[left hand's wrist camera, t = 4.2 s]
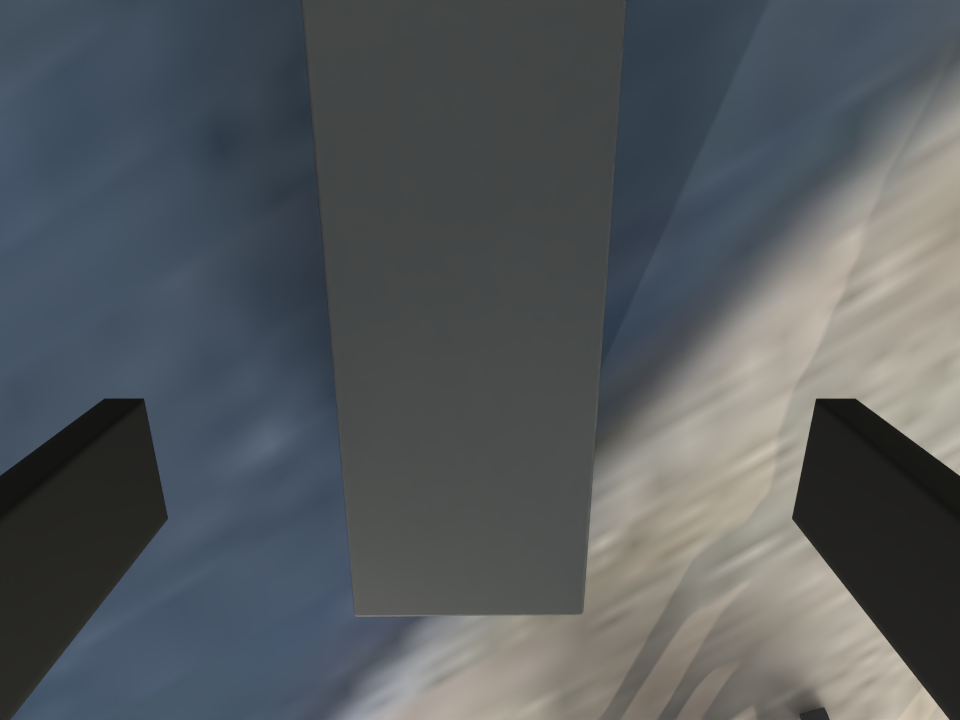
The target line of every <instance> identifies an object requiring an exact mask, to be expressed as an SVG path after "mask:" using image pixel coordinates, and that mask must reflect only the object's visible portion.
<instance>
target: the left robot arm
mask: <svg viewBox="0 0 960 720" xmlns="http://www.w3.org/2000/svg"><path fill="white" fill-rule="evenodd" d="M167 519H168V516H167V512H166V507H165V502H164V497H163V492H162V487H161V482H160V477H159V472H158V467H157V462H156V457H155V452H154V447H153V442H152V437H151V432H150V427H149V422H148V417H147V412H146V407H145V402H144V399H103V400H102V401H101V402H99V403H98V404H97V405H95V406H94V407H93V408H91V409H90V410H89V411H87V412H86V413H85V414H83V415H82V416H81V417H79V418H78V419H76V420H75V421H74V422H72V423H71V424H70V425H68V426H67V427H66V428H64V429H63V430H62V431H60V432H59V433H58V434H56V435H55V436H54V437H52V438H51V439H49V440H48V441H47V442H45V443H44V444H43V445H41V446H40V447H39V448H37V449H36V450H35V451H33V452H32V453H31V454H29V455H28V456H27V457H25V458H24V459H22V460H21V461H20V462H18V463H17V464H16V465H14V466H13V467H12V468H10V469H9V470H8V471H6V472H5V473H4V474H2V475H1V476H0V720H11V718H12V717H13V716H14V714H15V713H16V712H17V711H18V709H19V708H20V707H21V705H22V704H23V703H24V702H25V700H26V699H27V698H28V697H29V695H30V694H31V693H32V691H33V690H34V689H35V688H36V686H37V685H38V684H39V683H40V681H41V680H42V679H43V677H44V676H45V675H46V674H47V672H48V671H49V670H50V669H51V667H52V666H53V665H54V663H55V662H56V661H57V660H58V658H59V657H60V656H61V654H62V653H63V652H64V651H65V649H66V648H67V647H68V646H69V644H70V643H71V642H72V640H73V639H74V638H75V637H76V635H77V634H78V633H79V632H80V630H81V629H82V628H83V626H84V625H85V624H86V623H87V621H88V620H89V619H90V617H91V616H92V615H93V614H94V612H95V611H96V610H97V609H98V607H99V606H100V605H101V603H102V602H103V601H104V600H105V598H106V597H107V596H108V595H109V593H110V592H111V591H112V589H113V588H114V587H115V586H116V584H117V583H118V582H119V580H120V579H121V578H122V577H123V575H124V574H125V573H126V572H127V570H128V569H129V568H130V566H131V565H132V564H133V563H134V561H135V560H136V559H137V558H138V556H139V555H140V554H141V552H142V551H143V550H144V549H145V547H146V546H147V545H148V543H149V542H150V541H151V540H152V538H153V537H154V536H155V535H156V533H157V532H158V531H159V529H160V528H161V527H162V526H163V524H164V523H165V522H166V521H167ZM792 519H793V521H794V522H795V523H796V524H797V526H798V527H799V528H800V529H801V531H802V532H803V533H804V535H805V536H806V537H807V538H808V540H809V541H810V542H811V543H812V545H813V546H814V547H815V549H816V550H817V551H818V552H819V554H820V555H821V556H822V558H823V559H824V560H825V561H826V563H827V564H828V565H829V566H830V568H831V569H832V570H833V572H834V573H835V574H836V575H837V577H838V578H839V579H840V580H841V582H842V583H843V584H844V586H845V587H846V588H847V589H848V591H849V592H850V593H851V595H852V596H853V597H854V598H855V600H856V601H857V602H858V603H859V605H860V606H861V607H862V609H863V610H864V611H865V612H866V614H867V615H868V616H869V617H870V619H871V620H872V621H873V623H874V624H875V625H876V626H877V628H878V629H879V630H880V632H881V633H882V634H883V635H884V637H885V638H886V639H887V640H888V642H889V643H890V644H891V646H892V647H893V648H894V649H895V651H896V652H897V653H898V654H899V656H900V657H901V658H902V660H903V661H904V662H905V663H906V665H907V666H908V667H909V669H910V670H911V671H912V672H913V674H914V675H915V676H916V677H917V679H918V680H919V681H920V683H921V684H922V685H923V686H924V688H925V689H926V690H927V691H928V693H929V694H930V695H931V697H932V698H933V699H934V700H935V702H936V703H937V704H938V705H939V707H940V708H941V709H942V711H943V712H944V713H945V714H946V716H947V717H948V718H949V720H960V476H959V475H958V474H956V473H955V472H954V471H952V470H951V469H950V468H948V467H947V466H946V465H944V464H943V463H942V462H940V461H939V460H938V459H936V458H935V457H933V456H932V455H931V454H929V453H928V452H927V451H925V450H924V449H923V448H921V447H920V446H919V445H917V444H916V443H915V442H913V441H912V440H911V439H909V438H908V437H906V436H905V435H904V434H902V433H901V432H900V431H898V430H897V429H896V428H894V427H893V426H892V425H890V424H889V423H888V422H886V421H885V420H884V419H882V418H881V417H879V416H878V415H877V414H875V413H874V412H873V411H871V410H870V409H869V408H867V407H866V406H865V405H863V404H862V403H861V402H859V401H858V400H857V399H816V402H815V407H814V412H813V417H812V422H811V427H810V432H809V437H808V442H807V447H806V452H805V457H804V462H803V467H802V472H801V477H800V482H799V487H798V492H797V497H796V502H795V507H794V512H793V516H792Z"/></svg>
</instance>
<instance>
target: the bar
mask: <svg viewBox="0 0 960 720" xmlns="http://www.w3.org/2000/svg"><path fill="white" fill-rule="evenodd" d="M301 2H302V14H303V25H304V37H305V48H306V60H307V72H308V83H309V95H310V106H311V118H312V130H313V141H314V153H315V164H316V176H317V188H318V199H319V211H320V222H321V234H322V245H323V257H324V269H325V280H326V292H327V303H328V315H329V327H330V338H331V350H332V361H333V373H334V385H335V396H336V408H337V419H338V431H339V443H340V454H341V466H342V477H343V489H344V501H345V512H346V524H347V535H348V547H349V558H350V570H351V582H352V593H353V605H354V614H355V616H357V617H363V616H492V615H581V614H582V613H583V608H584V593H585V579H586V565H587V551H588V537H589V523H590V509H591V495H592V480H593V466H594V452H595V438H596V424H597V410H598V396H599V381H600V367H601V353H602V339H603V325H604V311H605V297H606V283H607V268H608V254H609V240H610V226H611V212H612V198H613V184H614V170H615V155H616V141H617V127H618V113H619V99H620V85H621V71H622V56H623V42H624V28H625V14H626V0H301Z"/></svg>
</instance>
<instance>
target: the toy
mask: <svg viewBox="0 0 960 720" xmlns="http://www.w3.org/2000/svg"><path fill="white" fill-rule="evenodd" d="M800 718H801V720H830V719H829V717H828V715H827V712H826V710H825V708H824V707H823V708H820V709H817V710H813V711H810V712H806V713H803V714H800Z"/></svg>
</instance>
